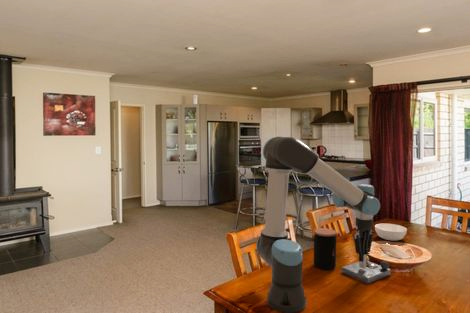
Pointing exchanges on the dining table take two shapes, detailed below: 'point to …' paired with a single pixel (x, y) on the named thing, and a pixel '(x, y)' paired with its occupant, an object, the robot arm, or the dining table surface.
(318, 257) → the coffee jar
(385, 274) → the grey base plate
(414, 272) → the dining table surface
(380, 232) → the bowl
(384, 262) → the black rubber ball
